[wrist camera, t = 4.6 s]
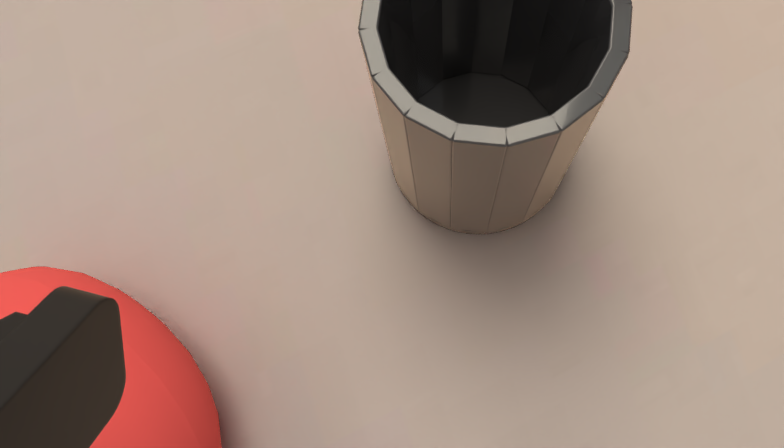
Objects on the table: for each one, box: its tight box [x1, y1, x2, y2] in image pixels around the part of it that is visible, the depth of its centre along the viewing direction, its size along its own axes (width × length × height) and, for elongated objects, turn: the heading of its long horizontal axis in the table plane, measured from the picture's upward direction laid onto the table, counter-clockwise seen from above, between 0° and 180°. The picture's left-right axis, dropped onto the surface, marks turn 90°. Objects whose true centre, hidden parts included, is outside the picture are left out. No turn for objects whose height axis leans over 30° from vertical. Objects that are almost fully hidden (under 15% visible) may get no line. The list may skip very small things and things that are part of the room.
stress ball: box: [0, 267, 222, 448], centre depth 22 cm, size 5×9×6 cm, turn 43°
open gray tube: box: [358, 0, 633, 234], centre depth 21 cm, size 6×6×9 cm
